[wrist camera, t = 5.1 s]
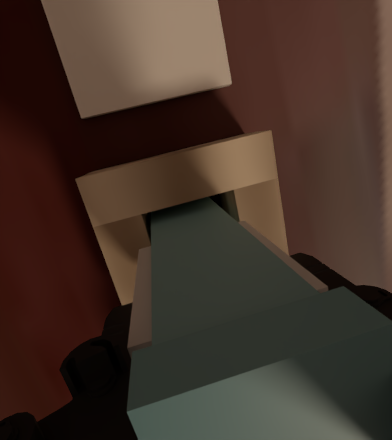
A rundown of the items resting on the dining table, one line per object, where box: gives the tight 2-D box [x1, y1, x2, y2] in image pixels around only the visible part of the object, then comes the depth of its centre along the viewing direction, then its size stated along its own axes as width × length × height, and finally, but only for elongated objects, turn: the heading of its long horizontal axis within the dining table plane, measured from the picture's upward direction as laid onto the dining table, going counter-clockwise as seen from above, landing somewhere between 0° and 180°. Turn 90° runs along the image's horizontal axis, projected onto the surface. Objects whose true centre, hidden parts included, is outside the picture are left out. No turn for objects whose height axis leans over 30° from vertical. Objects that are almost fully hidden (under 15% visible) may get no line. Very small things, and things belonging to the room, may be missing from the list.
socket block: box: [75, 130, 289, 305], centre depth 17 cm, size 10×10×4 cm
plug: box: [127, 197, 392, 440], centre depth 11 cm, size 4×4×14 cm
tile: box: [41, 0, 232, 119], centre depth 14 cm, size 9×9×1 cm
